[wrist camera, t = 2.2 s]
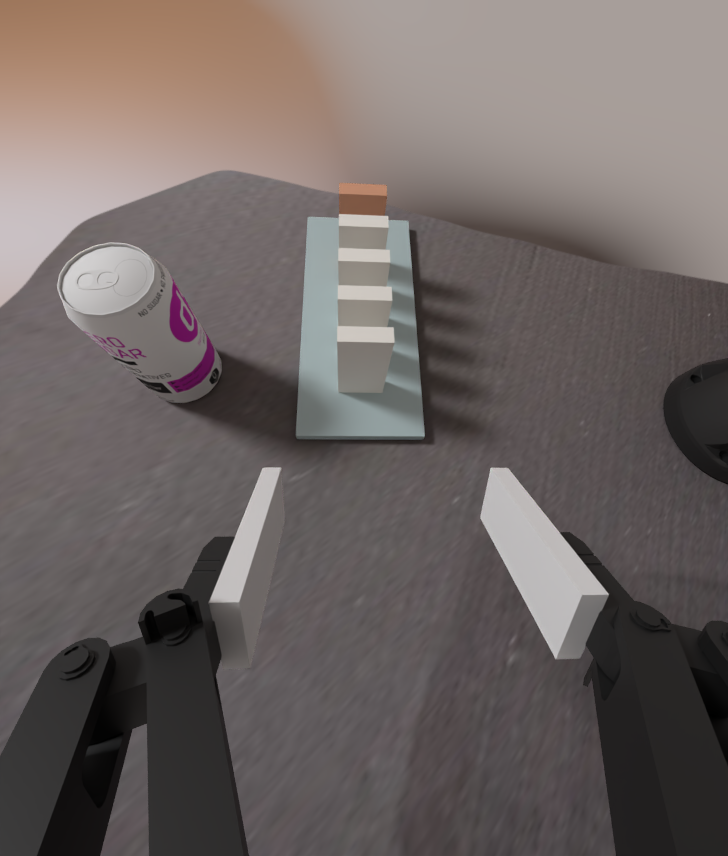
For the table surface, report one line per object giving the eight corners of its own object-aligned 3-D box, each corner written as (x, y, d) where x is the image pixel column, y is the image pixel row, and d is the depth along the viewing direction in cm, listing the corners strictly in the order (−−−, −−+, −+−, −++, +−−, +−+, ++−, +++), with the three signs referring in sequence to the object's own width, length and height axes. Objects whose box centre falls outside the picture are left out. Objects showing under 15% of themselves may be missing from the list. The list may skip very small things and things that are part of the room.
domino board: (406, 228, 51) (408, 220, 50) (422, 439, 40) (424, 436, 39) (308, 224, 50) (307, 216, 49) (297, 439, 39) (295, 435, 38)
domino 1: (340, 258, 47) (339, 182, 37) (377, 259, 47) (386, 185, 38) (339, 267, 46) (339, 193, 37) (378, 268, 46) (387, 195, 37)
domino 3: (339, 314, 44) (338, 247, 34) (379, 315, 44) (389, 249, 35) (339, 325, 43) (338, 260, 34) (380, 326, 43) (390, 262, 34)
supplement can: (222, 339, 43) (164, 233, 29) (224, 401, 40) (160, 316, 26) (152, 346, 42) (56, 240, 28) (149, 410, 39) (41, 327, 25)
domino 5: (338, 379, 40) (337, 326, 31) (382, 380, 41) (393, 327, 31) (338, 392, 40) (337, 341, 31) (382, 392, 40) (394, 342, 31)
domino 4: (338, 345, 42) (337, 285, 33) (380, 346, 42) (391, 286, 33) (338, 357, 41) (337, 299, 32) (381, 358, 42) (392, 300, 32)
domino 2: (339, 285, 45) (338, 214, 36) (378, 286, 45) (388, 216, 36) (339, 295, 45) (338, 225, 35) (379, 296, 45) (388, 227, 36)
